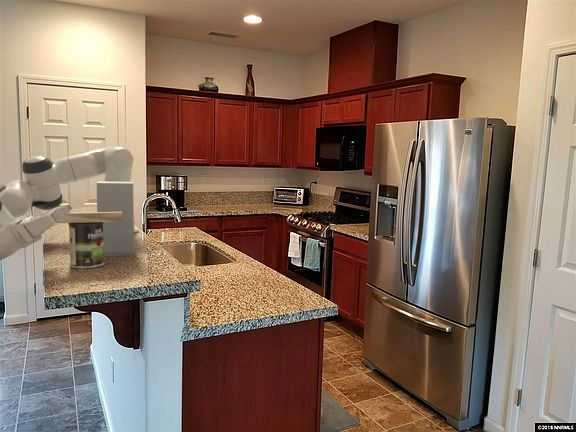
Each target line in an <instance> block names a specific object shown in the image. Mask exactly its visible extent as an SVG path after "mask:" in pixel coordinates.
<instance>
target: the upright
mask: <svg viewBox="0 0 576 432" xmlns="http://www.w3.org/2000/svg"><path fill="white" fill-rule="evenodd" d="M96 212H122V222H103V243H104V257H125V256H124V255H127V256H136V246H135V241H134V240H135V239H134V237H135V232H134V219H135V215H134V216H133V214H134V181H130V182H105V180H104V181H102V180H101V181H97V182H96Z"/></svg>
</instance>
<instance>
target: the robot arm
mask: <svg viewBox="0 0 576 432" xmlns="http://www.w3.org/2000/svg"><path fill="white" fill-rule="evenodd" d="M133 164H134V156H133V154H132V153H131V151H130V150H129V149H128V148H126V147H125V146H108V147H107V146H106V147H104V148H99V149H95V150H92V151H88V152H83V153H80V154H75V155H70V156H66V157H62V158H58V159H55V160H51V159H49V158H48V157H46V156H45V155H44V156H43V155H42V156H41V155H38V156H37V155H36V156H31V157H29V158H26V159H25V160H24V161H23V162H22V164H21V165H22V166H21V169H22V173H23V175H24V180H22V179H15V180H11V181H9V182H7V183H6V184H5V185H4V184H1V185H0V261H2V260H4V259H6V258H9V257H10V256H12V255H13V254H14V255H15V253H16V252H17V251H18V250H21V249H24V248H27V247H29V246H31V245H32V244H34V243H37V242H39V241H41V239H43V237H42V234H45V232H46V231H48V230H49V229H50V228H52V227H53V226H54V225H56V224H57V223H56V222H57V221H58V218H60V217H62V216H63V215H65V214H66V213H70V211H72V210H73V206H72V205H71V204H67V205H65V206H62V207H60V206H61V204H63V194H62V192H61V185H62V186H63V185H68V184H73V183H77V182H81V181H85V180H89V179H94V178H96V177H98V176H102V175H105V176H104V181H105V182H131V178H132V171H133V170H132V169H133ZM32 207H34V208H36V209H38V210H42V211H45V212H44V213H42V214H40V215H38V216H35V215H30V216H28V215H27V214H28V213H29V212H30V211H31V209H32ZM59 207H60V208H59ZM133 216H134V217H135V213H133ZM134 233H140V229H139V228H137V227H136V221H135V218H134Z"/></svg>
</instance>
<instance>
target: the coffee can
mask: <svg viewBox="0 0 576 432" xmlns="http://www.w3.org/2000/svg"><path fill="white" fill-rule="evenodd" d="M68 232H69V233H68V234H69V237H68V238H69V259H70V261H69V264H70V267H71V268H74V269H82V270H83V269H94V268H99V267H102V266H104V265H105V260H104V259H105V256H104V243H103V222H88V223H68Z"/></svg>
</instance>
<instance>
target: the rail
mask: <svg viewBox="0 0 576 432" xmlns="http://www.w3.org/2000/svg"><path fill="white" fill-rule="evenodd" d="M88 222H122V212H97V211H87V212H86V211H85V212H81V211H79V212H78V211H77V212H76V211H75V212H68V213H66V214H65V215H63V216H62V217H60V218H58V221H57V222H56V223H55V224H69V223H88Z"/></svg>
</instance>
